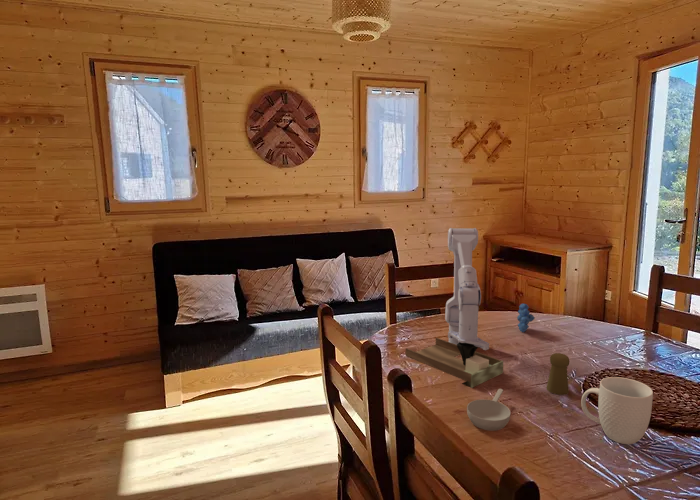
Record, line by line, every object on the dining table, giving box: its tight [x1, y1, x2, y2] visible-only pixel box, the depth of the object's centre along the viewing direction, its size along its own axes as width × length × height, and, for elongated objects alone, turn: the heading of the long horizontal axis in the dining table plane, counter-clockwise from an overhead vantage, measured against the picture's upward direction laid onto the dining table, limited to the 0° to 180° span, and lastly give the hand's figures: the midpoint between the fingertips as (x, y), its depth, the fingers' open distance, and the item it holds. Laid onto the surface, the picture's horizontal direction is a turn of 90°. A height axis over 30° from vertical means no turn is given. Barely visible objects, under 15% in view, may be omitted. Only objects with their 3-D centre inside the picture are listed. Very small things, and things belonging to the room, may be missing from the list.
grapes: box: [516, 303, 536, 333], centre depth 186 cm, size 12×7×12 cm, turn 169°
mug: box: [580, 376, 654, 445], centre depth 114 cm, size 15×11×13 cm
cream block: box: [466, 355, 489, 374], centre depth 147 cm, size 5×5×4 cm
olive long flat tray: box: [405, 337, 504, 389], centre depth 155 cm, size 16×28×4 cm, turn 39°
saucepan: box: [466, 388, 511, 432], centre depth 124 cm, size 11×18×4 cm, turn 148°
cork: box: [546, 352, 570, 396], centre depth 137 cm, size 6×6×11 cm
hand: (466, 364), depth 151 cm, fingers closed
